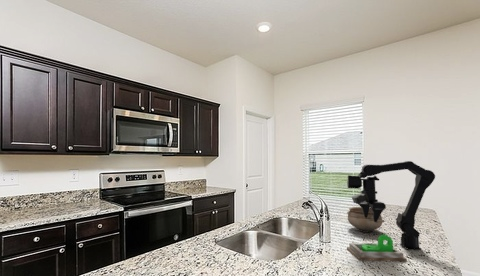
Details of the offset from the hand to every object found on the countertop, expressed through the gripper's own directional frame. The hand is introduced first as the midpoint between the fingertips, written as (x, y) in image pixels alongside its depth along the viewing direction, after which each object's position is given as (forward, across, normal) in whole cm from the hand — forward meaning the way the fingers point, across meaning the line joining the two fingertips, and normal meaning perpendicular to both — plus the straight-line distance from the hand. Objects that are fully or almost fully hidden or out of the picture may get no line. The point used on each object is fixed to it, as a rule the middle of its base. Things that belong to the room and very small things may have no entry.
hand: (370, 219), depth 128 cm
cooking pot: (+12, -23, +8) cm, 27 cm away
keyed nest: (+12, +14, -6) cm, 20 cm away
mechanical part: (+11, +14, -5) cm, 18 cm away
